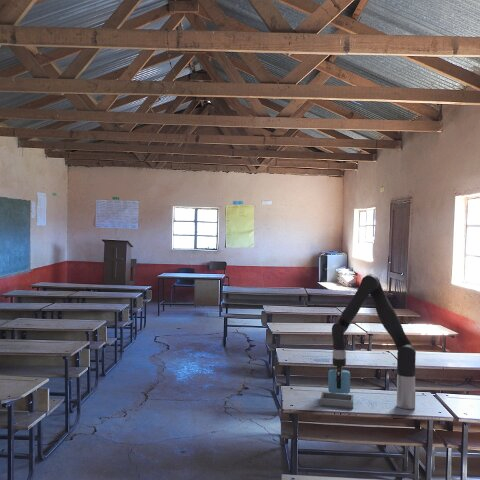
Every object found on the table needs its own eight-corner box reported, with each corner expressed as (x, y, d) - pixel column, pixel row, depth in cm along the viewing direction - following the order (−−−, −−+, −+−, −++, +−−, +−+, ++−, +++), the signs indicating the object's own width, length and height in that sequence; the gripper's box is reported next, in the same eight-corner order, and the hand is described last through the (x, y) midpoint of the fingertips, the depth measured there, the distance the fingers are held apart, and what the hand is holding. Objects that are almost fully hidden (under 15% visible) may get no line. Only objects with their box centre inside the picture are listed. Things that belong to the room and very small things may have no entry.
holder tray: (353, 402, 275) (353, 394, 275) (352, 409, 264) (353, 401, 264) (322, 399, 280) (322, 392, 280) (320, 405, 268) (320, 398, 268)
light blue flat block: (349, 391, 285) (349, 370, 285) (350, 393, 281) (350, 372, 281) (328, 390, 287) (328, 369, 287) (328, 392, 283) (328, 371, 283)
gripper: (345, 360, 276) (345, 391, 276) (346, 354, 290) (346, 384, 290) (331, 359, 278) (331, 390, 278) (333, 353, 292) (333, 383, 292)
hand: (339, 386), depth 284 cm, fingers closed on light blue flat block, 4 cm apart
